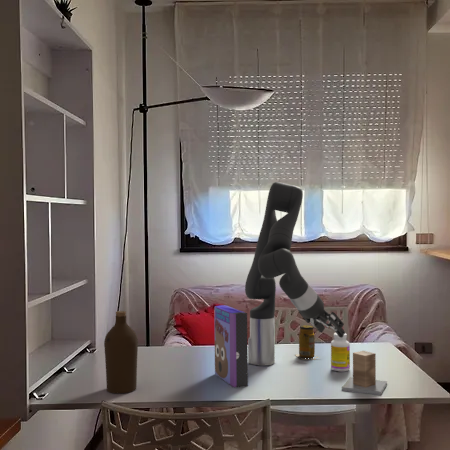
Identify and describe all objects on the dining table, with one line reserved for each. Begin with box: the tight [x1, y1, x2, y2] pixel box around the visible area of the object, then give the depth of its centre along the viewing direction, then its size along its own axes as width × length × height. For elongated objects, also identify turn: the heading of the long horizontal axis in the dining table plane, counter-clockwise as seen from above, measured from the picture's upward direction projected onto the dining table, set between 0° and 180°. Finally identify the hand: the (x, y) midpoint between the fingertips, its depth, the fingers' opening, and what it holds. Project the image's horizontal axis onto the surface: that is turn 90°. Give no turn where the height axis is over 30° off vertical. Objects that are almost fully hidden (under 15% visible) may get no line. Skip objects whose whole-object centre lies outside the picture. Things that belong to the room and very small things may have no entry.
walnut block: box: [352, 350, 377, 387], centre depth 182 cm, size 5×5×10 cm
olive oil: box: [103, 310, 139, 394], centre depth 183 cm, size 11×11×25 cm
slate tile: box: [341, 376, 388, 396], centre depth 183 cm, size 12×12×1 cm
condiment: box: [295, 324, 320, 361], centre depth 222 cm, size 7×8×12 cm
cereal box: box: [213, 304, 249, 389], centre depth 192 cm, size 17×5×24 cm, turn 22°
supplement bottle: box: [330, 332, 351, 373], centre depth 204 cm, size 7×7×13 cm
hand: (332, 332), depth 178 cm, fingers open, 8 cm apart
